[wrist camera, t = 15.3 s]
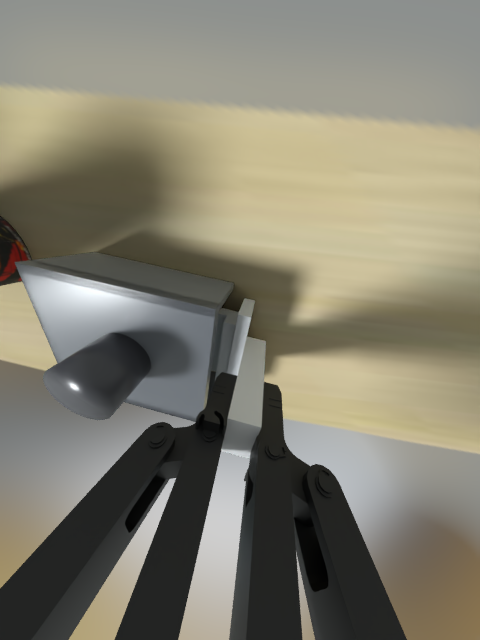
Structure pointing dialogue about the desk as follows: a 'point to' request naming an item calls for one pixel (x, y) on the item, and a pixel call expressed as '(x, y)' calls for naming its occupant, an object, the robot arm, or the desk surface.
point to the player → (125, 333)
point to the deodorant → (10, 253)
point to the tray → (231, 338)
